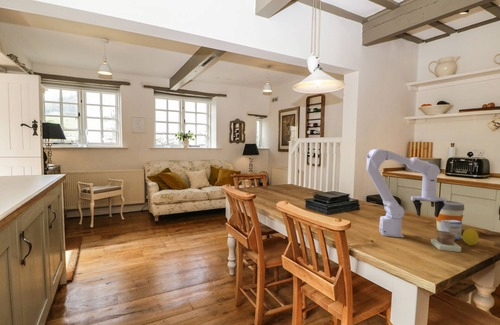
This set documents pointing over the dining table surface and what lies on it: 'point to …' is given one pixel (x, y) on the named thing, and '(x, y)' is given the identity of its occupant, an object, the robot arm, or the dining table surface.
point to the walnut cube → (445, 238)
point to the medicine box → (452, 227)
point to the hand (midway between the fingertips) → (427, 216)
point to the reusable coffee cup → (450, 212)
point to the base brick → (446, 246)
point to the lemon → (470, 236)
